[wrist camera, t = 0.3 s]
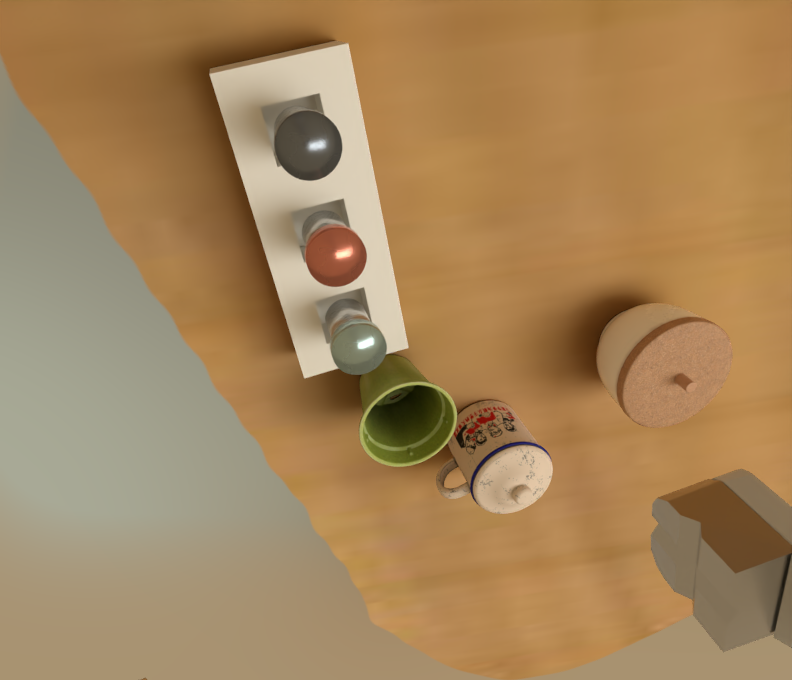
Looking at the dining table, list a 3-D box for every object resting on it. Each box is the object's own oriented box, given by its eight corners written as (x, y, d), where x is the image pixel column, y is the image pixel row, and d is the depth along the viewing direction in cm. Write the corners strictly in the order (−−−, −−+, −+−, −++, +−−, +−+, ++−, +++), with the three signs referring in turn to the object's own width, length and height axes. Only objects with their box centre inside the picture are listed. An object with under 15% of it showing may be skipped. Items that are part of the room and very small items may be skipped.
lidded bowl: (571, 308, 65) (631, 357, 56) (676, 270, 67) (751, 312, 57) (581, 398, 72) (636, 456, 62) (676, 362, 73) (744, 414, 64)
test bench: (210, 68, 46) (209, 74, 42) (336, 40, 48) (348, 43, 43) (298, 352, 59) (304, 378, 55) (395, 324, 61) (408, 347, 56)
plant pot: (327, 366, 61) (342, 414, 54) (410, 323, 61) (436, 365, 54) (365, 429, 66) (384, 482, 58) (442, 389, 66) (470, 437, 59)
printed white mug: (505, 383, 68) (554, 447, 58) (526, 438, 73) (575, 506, 63) (409, 432, 68) (443, 504, 58) (437, 484, 72) (472, 559, 62)
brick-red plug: (290, 213, 48) (299, 238, 42) (344, 199, 48) (359, 222, 43) (304, 263, 50) (314, 293, 44) (356, 250, 50) (372, 277, 45)
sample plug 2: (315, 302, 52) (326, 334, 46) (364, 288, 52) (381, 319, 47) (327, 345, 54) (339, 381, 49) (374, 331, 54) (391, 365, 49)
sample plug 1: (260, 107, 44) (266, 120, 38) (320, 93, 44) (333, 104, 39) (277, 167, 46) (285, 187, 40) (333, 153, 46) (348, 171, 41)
